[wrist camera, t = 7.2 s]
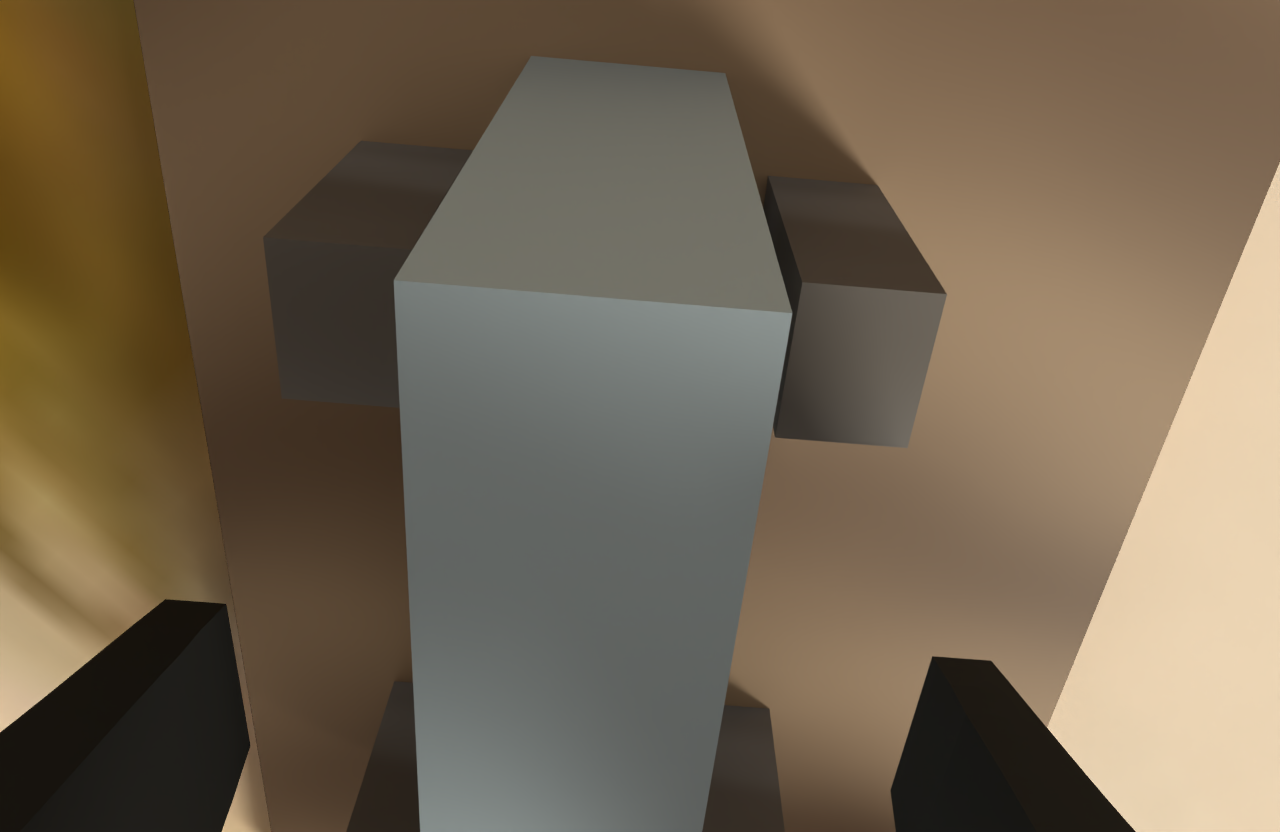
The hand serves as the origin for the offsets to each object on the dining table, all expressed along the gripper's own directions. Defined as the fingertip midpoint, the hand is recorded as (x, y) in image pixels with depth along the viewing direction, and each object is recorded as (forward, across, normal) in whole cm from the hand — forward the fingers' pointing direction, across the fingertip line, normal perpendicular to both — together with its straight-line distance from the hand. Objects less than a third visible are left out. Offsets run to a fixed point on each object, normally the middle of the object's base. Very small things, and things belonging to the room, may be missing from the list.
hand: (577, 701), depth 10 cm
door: (+3, 0, 0) cm, 3 cm away
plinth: (+5, -1, 0) cm, 5 cm away
